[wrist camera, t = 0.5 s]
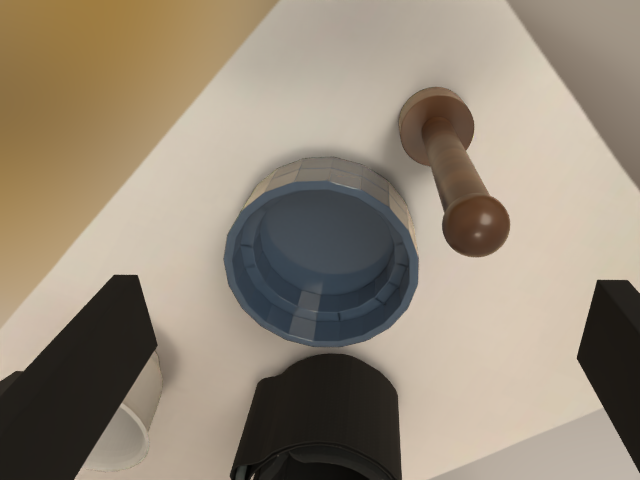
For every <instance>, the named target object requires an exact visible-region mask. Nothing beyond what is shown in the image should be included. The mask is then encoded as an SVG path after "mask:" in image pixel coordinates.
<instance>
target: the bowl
mask: <svg viewBox="0 0 640 480" xmlns="http://www.w3.org/2000/svg"><path fill="white" fill-rule="evenodd" d="M224 265H225V270H226V274H227V279H228V284H229V287H230V288H231V290H232V292H233V294H234V295H235V297H236V299H237V301H238V302H239V304H240V306H241V307H242V309H243V310H244V311H245V312H246V313H248V314H249V315H250V316H251V317H252V318H253V319H254V320H255V321H256V322H257V323H258V324H259V325H260V326H262V327H263V328H265V329H267V330H269V331H271V332H272V333H274V334H276V335H278V336H280V337H282V338H283V339H286V340H289V341H292V342H296V343H300V344H304V345H308V346H313V347H343V346H347V345H351V344H355V343H360V342H364V341H366V340H369V339H371V338H373V337H374V336H376V335H378V334H380V333H382V332H383V331H385V330H387V329H389V328H390V327H391V326H392V325H393V324H394V323H395V322H396V321H397V320H398V319H399V318H400V316H401V315H402V314H403V313H404V312H405V311H406V310H407V308H408V307H409V305H410V302H411V300H412V298H413V295H414V293H415V291H416V288H417V286H418V269H419V257H418V250H417V244H416V237H415V230H414V225H413V222H412V219H411V217H410V214H409V211H408V208H407V205H406V203H405V201H404V200H403V199H402V197H401V196H400V195H399V194H398V192H397V191H396V190H395V189H394V187H393V186H392V185H391V184H390V182H389V181H388V180H386V179H385V178H383V177H382V176H380V175H379V174H377V173H375V172H374V171H372V170H371V169H369V168H368V167H366V166H365V165H362V164H359V163H355V162H351V161H348V160H344V159H340V158H337V157H318V158H305V159H301V160H298V161H296V162H293V163H290V164H287V165H285V166H282V167H279V168H277V169H276V170H275V171H274V172H272V173H271V174H270V175H269V176H267V177H266V178H265V179H264V180H263V181H261V182H260V183H259V184H258V185H257V186H256V188H255V189H254V191H253V193H252V194H251V196H250V198H249V199H248V201H247V202H246V204H245V206H244V207H243V209H242V210H241V212H240V214H239V216H238V217H237V219H236V221H235V222H234V224H233V226H232V227H231V229H230V231H229V233H228V235H227V241H226V247H225V253H224Z"/></svg>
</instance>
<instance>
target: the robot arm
mask: <svg viewBox="0 0 640 480" xmlns="http://www.w3.org/2000/svg"><path fill="white" fill-rule="evenodd" d="M157 346H158V344H157V341H156V337H155V334H154V330H153V327H152V323H151V320H150V316H149V313H148V309H147V306H146V302H145V299H144V295H143V292H142V288H141V285H140V281H139V278H138V275H113V277H112V278H111V279H110V280H109V281H108V282H107V283H106V284H105V285H104V286H103V287H102V288H101V289H100V290H99V291H98V293H97V294H96V295H95V296H94V297H93V298H92V299H91V300H90V301H89V302H88V303H87V304H86V305H85V306H84V307H83V309H82V310H81V311H80V312H79V313H78V314H77V315H76V316H75V317H74V318H73V319H72V320H71V321H70V322H69V323H68V324H67V326H66V327H65V328H64V329H63V330H62V331H61V332H60V333H59V334H58V335H57V336H56V337H55V338H54V339H53V340H52V342H51V343H50V344H49V345H48V346H47V347H46V348H45V349H44V350H43V351H42V352H41V353H40V354H39V355H38V356H37V358H36V359H35V360H34V361H33V362H32V363H31V364H30V365H29V366H28V367H27V368H26V369H25V370H24V371H15V372H14V373H12V374H11V375H9V376H8V377H6V378H5V379H3V380H2V381H0V480H74V479H75V477H76V475H77V474H78V472H79V471H80V469H81V467H82V466H83V464H84V463H85V461H86V459H87V458H88V456H89V455H90V453H91V451H92V450H93V448H94V447H95V445H96V443H97V442H98V440H99V439H100V437H101V435H102V434H103V432H104V431H105V429H106V427H107V426H108V424H109V423H110V421H111V419H112V418H113V416H114V415H115V413H116V411H117V410H118V408H119V407H120V405H121V403H122V402H123V400H124V399H125V397H126V395H127V394H128V392H129V391H130V389H131V387H132V386H133V384H134V383H135V381H136V379H137V378H138V376H139V375H140V373H141V371H142V370H143V368H144V367H145V365H146V363H147V362H148V360H149V359H150V357H151V355H152V354H153V352H154V351H155V349H156V347H157ZM577 360H578V362H579V363H580V365H581V367H582V369H583V371H584V372H585V374H586V376H587V378H588V380H589V382H590V383H591V385H592V387H593V389H594V391H595V392H596V394H597V396H598V398H599V400H600V402H601V403H602V405H603V407H604V409H605V411H606V412H607V414H608V416H609V418H610V420H611V421H612V423H613V425H614V427H615V429H616V431H617V432H618V434H619V436H620V438H621V440H622V442H623V443H624V445H625V447H626V449H627V451H628V453H629V454H630V456H631V458H632V460H633V462H634V463H635V465H636V467H637V469H638V471H639V473H640V293H639V292H638V291H637V290H636V289H635V288H634V287H633V285H632V284H631V283H630V282H629V281H628V280H597V283H596V287H595V291H594V294H593V298H592V302H591V306H590V309H589V313H588V317H587V321H586V325H585V328H584V332H583V336H582V340H581V343H580V347H579V351H578V355H577Z"/></svg>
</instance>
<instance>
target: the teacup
mask: <svg viewBox="0 0 640 480" xmlns="http://www.w3.org/2000/svg"><path fill="white" fill-rule="evenodd" d="M162 387H163V380H162V374H161V371H160V369H159V358H158V356H157V354H156V352H155V351H154V352H153V354H152V355H151V357H150V359H149V360H148V362H147V363H146V365H145V367H144V368H143V370H142V371H141V373H140V375H139V376H138V378H137V379H136V381H135V383H134V384H133V386H132V387H131V389H130V391H129V392H128V394H127V395H126V397H125V399H124V400H123V402H122V403H121V405H120V407H119V408H118V410H117V411H116V413H115V415H114V416H113V418H112V419H111V421H110V423H109V424H108V426H107V427H106V429H105V431H104V432H103V434H102V435H101V437H100V439H99V440H98V442H97V443H96V445H95V447H94V448H93V450H92V451H91V453H90V455H89V456H88V458H87V459H86V461H85V463H84V464H83V466H82V468H85V469H89V470H94V471H103V472H113V471H121V470H125V469H128V468H131V467H134V466H135V465H137V464H139V463H140V462H141V461H142V460H143V459H144V458H145V457H146V455H147V453H148V449H149V436H148V431H149V428H150V425H151V422H152V420H153V417H154V414H155V412H156V409H157V406H158V403H159V400H160V397H161V393H162Z"/></svg>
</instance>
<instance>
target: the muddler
mask: <svg viewBox="0 0 640 480" xmlns="http://www.w3.org/2000/svg"><path fill="white" fill-rule="evenodd" d="M399 131H400V137H401V143H402V145H403V148H404V150H405V151H406V153H407V154H408V155H409V156H410V157H411V158H412V159H413V160H415V161H416V162H418V163H420V164H423V165H426V166H431V169H432V173H433V176H434V179H435V183H436V186H437V190H438V193H439V196H440V200H441V203H442V206H443V210H444V213H445V214H444V217H443V222H442V229H443V234H444V237H445V239H446V241H447V243H448V244H449V245H450V246H451V248H452V249H454V250H455V251H456V252H458V253H460V254H462V255H465V256H468V257H484V256H487V255H490V254H492V253H494V252H495V251H497V250H498V249H499V248H500V247H501V246H502V245H503V244H504V243H505V241H506V239H507V237H508V235H509V231H510V219H509V215H508V213H507V210H506V209H505V207H504V206H503V205H502V204H501V203H500V202H499V201H498V200H497V199H495V198H494V197H492V196H490V195H489V193H488V191H487V189H486V187H485V186H484V184H483V182H482V180H481V178H480V176H479V175H478V173H477V171H476V169H475V167H474V165H473V164H472V162H471V160H470V158H469V156H468V154H467V152H466V150H467V148H468V147H469V145H470V143H471V141H472V138H473V134H474V120H473V117H472V114H471V112H470V110H469V109H468V107H467V106H466V105H465V103H464V102H463V101H462V100H461V98H460V97H459V96H458V95H457V94H456V93H454V92H452V91H451V90H448V89H445V88H441V87H431V88H426V89H423V90H421V91H419V92H417V93H416V94H414V95H413V96H412V97H411V98H409V99H408V101H407V102H406V103H405V105H404V106H403V108H402V110H401V113H400V117H399Z"/></svg>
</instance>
